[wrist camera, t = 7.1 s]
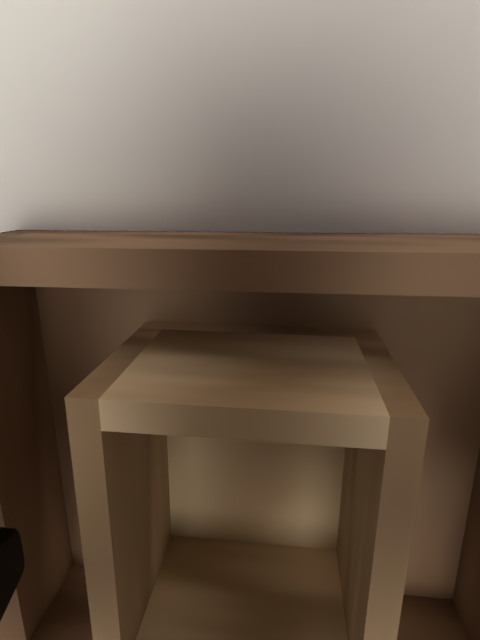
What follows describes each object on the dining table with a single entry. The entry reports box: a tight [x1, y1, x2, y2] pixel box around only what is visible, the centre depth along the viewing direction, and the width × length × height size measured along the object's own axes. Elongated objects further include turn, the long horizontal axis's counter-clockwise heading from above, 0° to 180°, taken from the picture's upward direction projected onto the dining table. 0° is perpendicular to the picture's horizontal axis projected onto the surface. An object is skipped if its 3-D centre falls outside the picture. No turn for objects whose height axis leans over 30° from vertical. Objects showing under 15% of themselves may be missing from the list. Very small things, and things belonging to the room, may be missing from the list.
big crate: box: [0, 230, 480, 640], centre depth 12 cm, size 14×12×4 cm
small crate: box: [64, 321, 429, 640], centre depth 10 cm, size 6×7×4 cm
